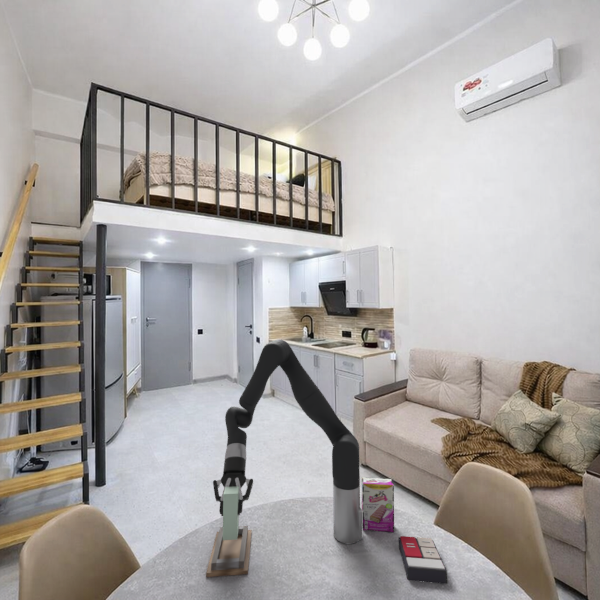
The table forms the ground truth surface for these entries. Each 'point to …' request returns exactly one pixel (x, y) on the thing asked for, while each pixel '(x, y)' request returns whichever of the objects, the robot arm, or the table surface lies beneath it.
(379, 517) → the candy bar box
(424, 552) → the calculator
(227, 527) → the pale green angular block
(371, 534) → the table surface
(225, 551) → the track
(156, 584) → the table surface
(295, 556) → the table surface
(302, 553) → the table surface
